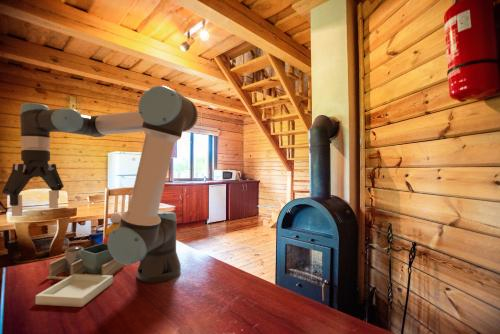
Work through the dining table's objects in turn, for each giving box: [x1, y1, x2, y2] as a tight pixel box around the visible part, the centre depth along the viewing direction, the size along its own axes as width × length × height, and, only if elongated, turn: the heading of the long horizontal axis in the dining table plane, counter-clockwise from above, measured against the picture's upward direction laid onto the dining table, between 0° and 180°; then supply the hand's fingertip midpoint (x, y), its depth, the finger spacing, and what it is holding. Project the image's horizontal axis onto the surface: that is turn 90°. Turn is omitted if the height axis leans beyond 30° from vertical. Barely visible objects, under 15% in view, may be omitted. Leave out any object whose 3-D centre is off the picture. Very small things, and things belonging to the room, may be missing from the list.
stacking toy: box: [102, 211, 122, 244], centre depth 106 cm, size 14×14×20 cm
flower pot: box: [81, 242, 114, 275], centre depth 91 cm, size 9×9×9 cm
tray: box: [35, 273, 114, 308], centre depth 77 cm, size 14×14×2 cm
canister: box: [64, 245, 85, 275], centre depth 92 cm, size 6×6×9 cm
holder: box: [46, 255, 127, 280], centre depth 92 cm, size 20×14×5 cm
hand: (36, 211), depth 84 cm, fingers open, 13 cm apart
